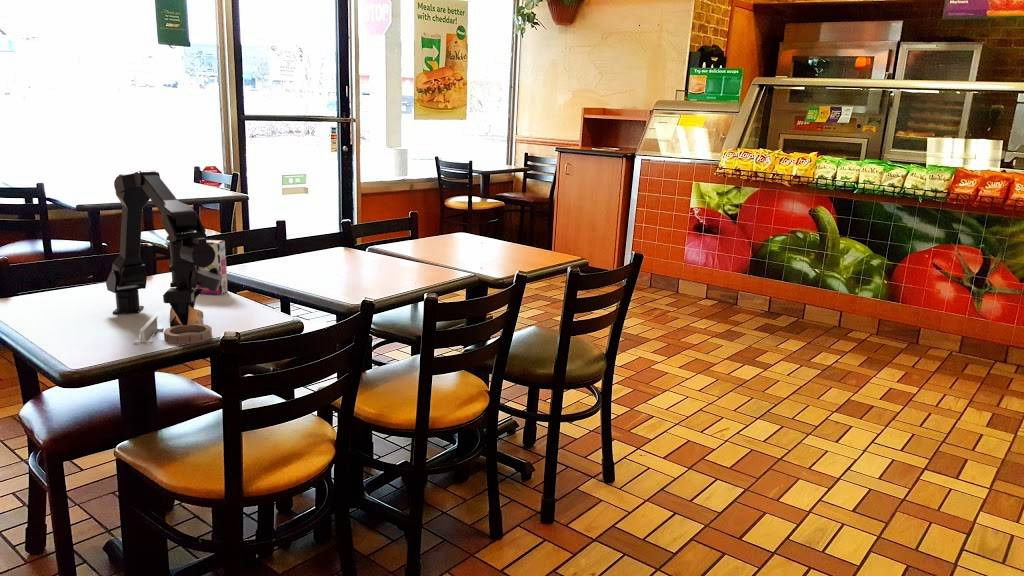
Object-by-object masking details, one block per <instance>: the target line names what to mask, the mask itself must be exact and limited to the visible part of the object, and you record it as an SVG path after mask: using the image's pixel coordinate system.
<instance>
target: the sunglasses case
mask: <svg viewBox="0 0 1024 576" xmlns="http://www.w3.org/2000/svg"><path fill="white" fill-rule="evenodd" d="M194 309H195V310H196V311H197V314H198V319H197V321H196V322H195V323H194V324H204V322H203V314H204V312H203V310H200V309H196V308H194ZM176 325H181V324H179V323H178V321H177V319H176V313H175V311H174V310H173V308H172V307H171V306H170V309H169V328H170V327H173V326H176Z"/></svg>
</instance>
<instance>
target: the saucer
mask: <svg viewBox="0 0 1024 576" xmlns="http://www.w3.org/2000/svg"><path fill="white" fill-rule="evenodd" d="M212 331H213V329H212V327H211V326H210V325H208V324H204V323H203V324H193V325H191V326H183V325H176V326H173V327H170V326H169V327H167V328H166V329H165V330H163V338H164V342H165V341H166V343H167V342H168V344H170V343H171V344H172V345H182V344H186V345H193V344H192V343H196V344H200V343H199V342H201V343H203V342H204V341H205V342H206V341H209V340H211V339H212V338H213V332H212ZM211 337H212V338H211ZM210 338H211V339H210ZM205 342H204V343H205Z"/></svg>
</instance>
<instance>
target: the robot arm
mask: <svg viewBox="0 0 1024 576" xmlns="http://www.w3.org/2000/svg"><path fill="white" fill-rule="evenodd" d="M115 177H116V178H115V179H114V181H113V183H114V184H113V185H114V186H113V187H114V190H115V195H116V197H117V198H118V200H119V202H120V203H121V206H122V207H121V219H120V220H121V222H120V223H121V224H120V225H121V226H120V245H119V246H120V247H119V255H118V256H117V257H116V258H115V259H114V261H113V262H112V264H111V265H112V266H111V271H110V273H109V275H108V278H107V280H106V281H105V285H106V289H107V291H109V292H111V293H113V294H115V302H116V303H115V304H116V308H115V309H114V310H113V311H112V314H113V315H116V314H139V313H140V312H141V311H142V310H143V309H144V305H140V299H139V298H140V296H139V290H144V289H146V287H147V281H148V280H147V279H148V273H147V269H148V267H147V266H146V264H145V263H144V262H143V259H141V242H142V241H141V240H142V223H143V208H144V207H145V206H146V205H147V204H148V202H149V201H151V202H152V203H153V205H154V206H155V207H156V208H157V210H158V211H159V212H160V214H161V219H160V222H161V224H162V227H163V229H164V230H165V232H166V233H167V236H166V241H169V253H170V265H169V266H168V270H169V272H171V282H170V284H169V285H170V288H169V289H168V290H167V291H166V292H165V293H164V294H163V295H162V299H163V303H164V304H169V305H170V308H171V307H172V308H173V310H174V311H175V313H176V315H177V316H178V318H179V320H180V321H181V323H182V325H187V324H188V318H189V309H190V307H192V308H194V309H195V304H196V299H197V297H198V296H199V294H200V293H201V292H202V291H203V289H197V285H199V286H201V287H205V288H208V289H210V290H211V291H217V289H218V288H219V285H220V282H221V280H222V275H220V274H219V269H218V268H215V267H212V268H211V269H210V270H209V271H207V270H202V269H200V267H207V266H209V265H211V264H212V263H213V261H214V259H215V251H214V249H213V248H212V246H210V245H209V244H207V242H206V240H207V234H206V228H205V227H204V225H203V223H202V221H201V220H200V217H199V214H197V212H196V211H195V210H194V209H193V207H191V206H190V205H189V204H186V203H183V202H182V201H179V200H178V199H177V198H176V196H175V195H174V194H173V193H172V191H171V190H170V188H169V187H168V186H167V184H165V182H164V181H163V180H162V178H161V177H160V173H159V171H157V170H154V169H153V170H138V171H135V172H134V173H123V174H119V175H118V176H115Z"/></svg>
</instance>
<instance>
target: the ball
mask: <svg viewBox="0 0 1024 576" xmlns="http://www.w3.org/2000/svg"><path fill="white" fill-rule="evenodd" d="M195 309H196V308H195V307H194V308H192V307H190V309H189V318H188V324H187V325H183V326H191V325H193V324H194V323H195V322H196V321H197V319H198V314H197V311H196V310H195ZM176 319H177V321H178V323H179V324H181V325H182V323H181V321H180V320H179V318H178V316H177V315H176Z"/></svg>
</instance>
